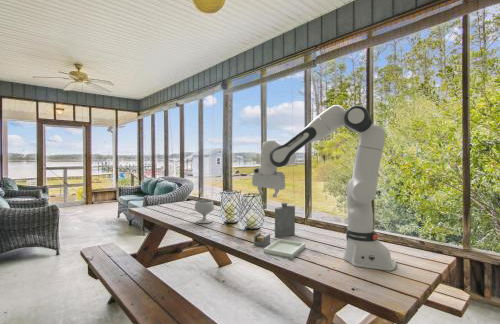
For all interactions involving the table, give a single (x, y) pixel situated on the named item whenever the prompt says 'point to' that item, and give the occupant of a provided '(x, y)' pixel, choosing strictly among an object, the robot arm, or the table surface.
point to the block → (260, 239)
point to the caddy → (266, 242)
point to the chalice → (204, 209)
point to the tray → (285, 248)
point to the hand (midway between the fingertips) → (267, 196)
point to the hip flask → (284, 220)
